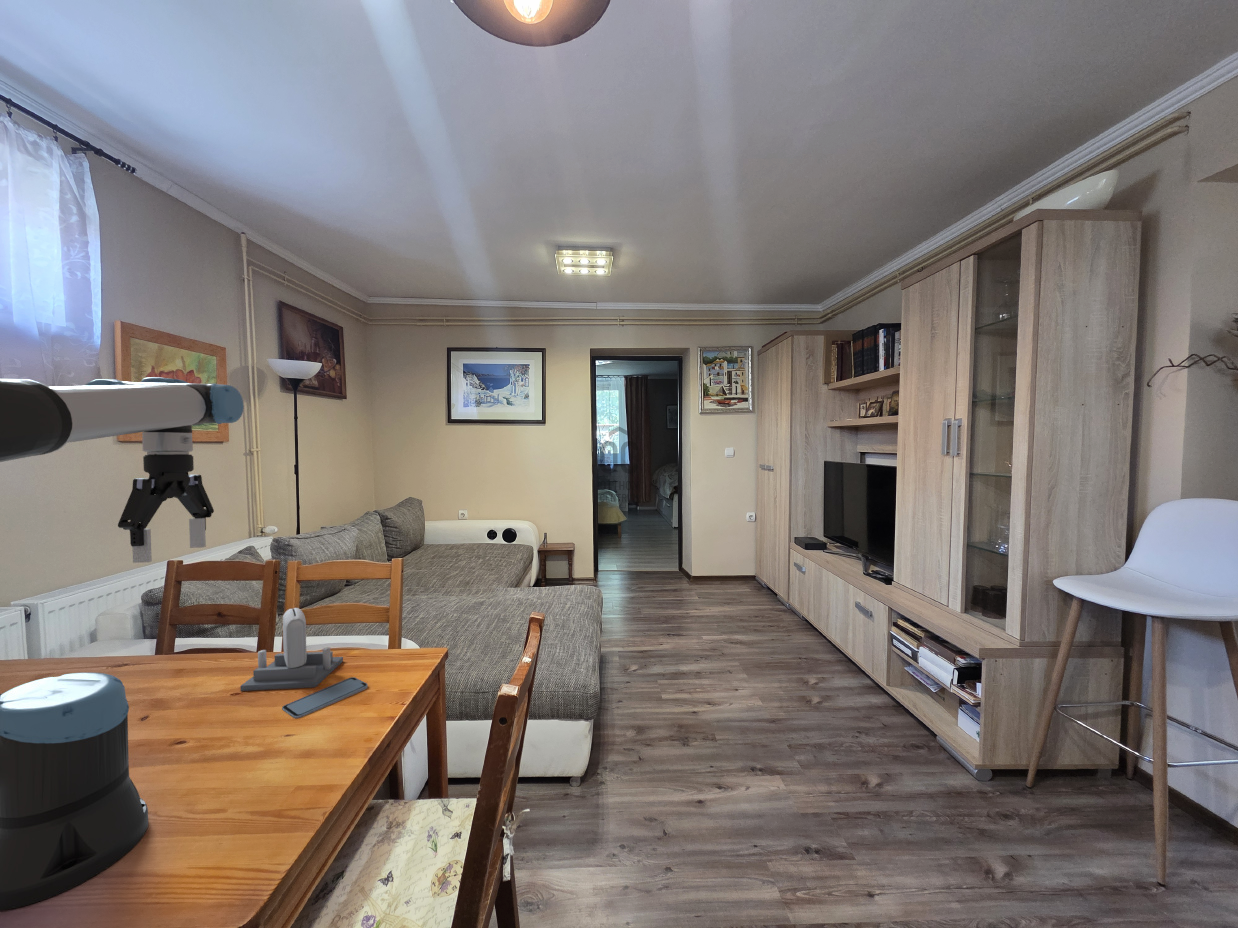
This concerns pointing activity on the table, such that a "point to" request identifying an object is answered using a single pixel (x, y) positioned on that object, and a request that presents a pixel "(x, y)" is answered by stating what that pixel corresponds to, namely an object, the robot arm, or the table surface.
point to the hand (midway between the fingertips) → (172, 554)
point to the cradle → (292, 671)
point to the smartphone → (324, 697)
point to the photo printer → (294, 638)
